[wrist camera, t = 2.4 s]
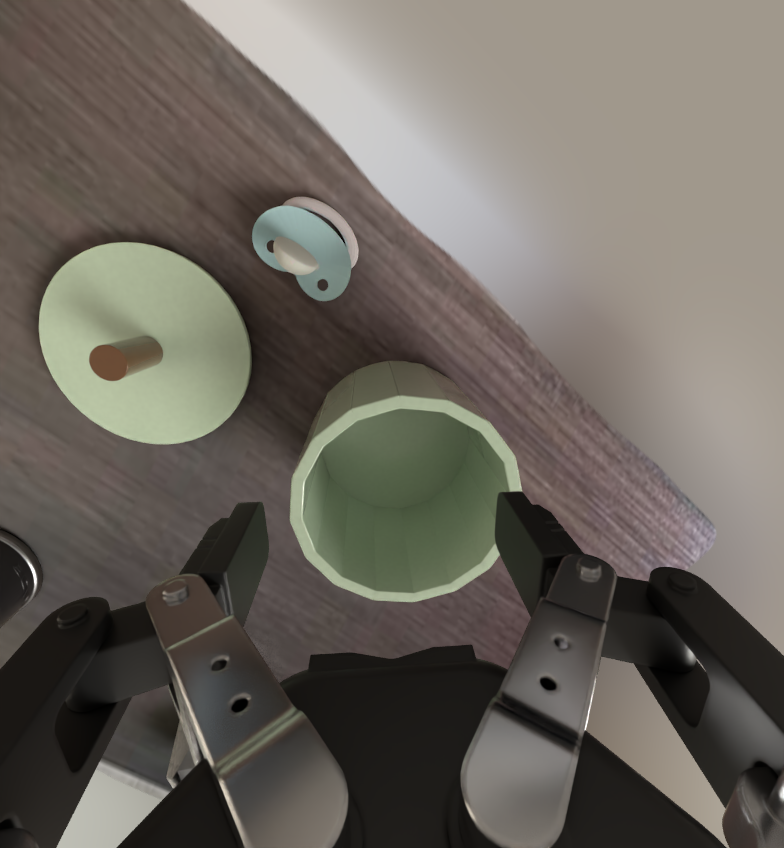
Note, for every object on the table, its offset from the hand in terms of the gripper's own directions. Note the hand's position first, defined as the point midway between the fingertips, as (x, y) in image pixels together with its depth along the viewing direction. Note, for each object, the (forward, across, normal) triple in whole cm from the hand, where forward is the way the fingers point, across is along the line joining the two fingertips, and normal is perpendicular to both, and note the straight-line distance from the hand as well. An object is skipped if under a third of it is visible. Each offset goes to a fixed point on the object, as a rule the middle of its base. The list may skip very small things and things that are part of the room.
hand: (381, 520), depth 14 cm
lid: (+21, +17, -3) cm, 27 cm away
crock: (+22, -2, +6) cm, 22 cm away
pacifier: (+22, +4, -10) cm, 24 cm away
